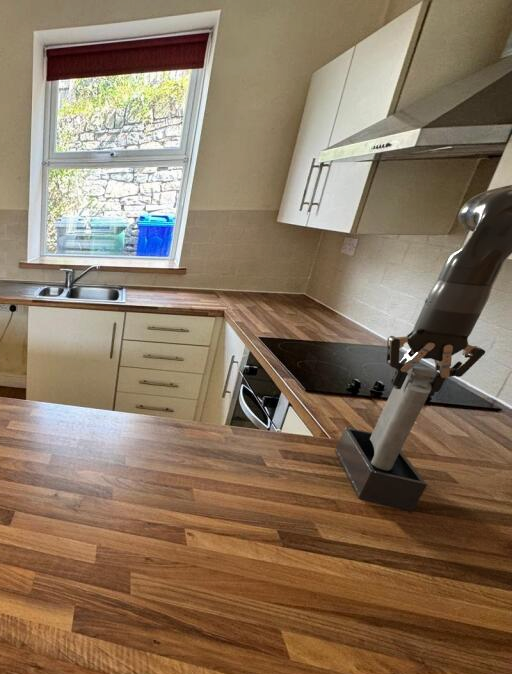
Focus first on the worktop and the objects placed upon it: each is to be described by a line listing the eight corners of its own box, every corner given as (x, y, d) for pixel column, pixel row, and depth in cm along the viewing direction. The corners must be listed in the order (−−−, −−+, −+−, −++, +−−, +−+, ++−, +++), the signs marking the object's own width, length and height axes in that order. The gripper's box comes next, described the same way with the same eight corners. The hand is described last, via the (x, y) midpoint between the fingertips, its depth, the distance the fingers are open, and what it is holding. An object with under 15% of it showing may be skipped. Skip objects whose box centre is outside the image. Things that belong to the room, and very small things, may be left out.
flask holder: (378, 460, 97) (389, 436, 94) (412, 512, 80) (427, 484, 77) (334, 450, 100) (344, 427, 98) (358, 498, 83) (371, 471, 81)
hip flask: (369, 436, 94) (406, 356, 86) (392, 442, 92) (432, 361, 84) (370, 466, 83) (413, 377, 75) (397, 474, 81) (444, 383, 73)
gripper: (410, 306, 74) (373, 389, 81) (519, 316, 69) (469, 405, 75) (395, 299, 81) (362, 377, 87) (494, 307, 75) (450, 391, 82)
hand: (412, 389), depth 81 cm, fingers closed on hip flask, 4 cm apart
